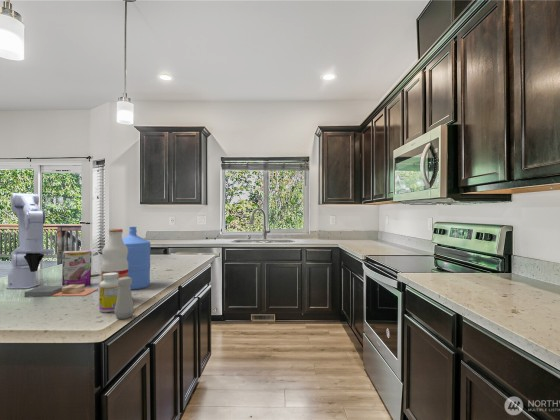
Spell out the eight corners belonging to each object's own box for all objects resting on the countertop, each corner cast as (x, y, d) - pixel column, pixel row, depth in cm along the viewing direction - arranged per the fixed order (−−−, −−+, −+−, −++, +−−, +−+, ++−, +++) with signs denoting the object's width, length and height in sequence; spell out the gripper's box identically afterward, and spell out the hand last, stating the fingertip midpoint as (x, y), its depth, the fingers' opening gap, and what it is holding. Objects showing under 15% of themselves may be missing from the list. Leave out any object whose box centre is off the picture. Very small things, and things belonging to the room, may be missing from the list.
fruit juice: (99, 299, 123) (101, 228, 124) (126, 295, 129) (127, 228, 129) (101, 304, 116) (102, 229, 116) (129, 301, 121) (130, 229, 121)
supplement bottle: (101, 308, 112) (102, 272, 112) (121, 306, 114) (122, 271, 114) (97, 313, 105) (97, 275, 105) (118, 312, 107) (119, 274, 108)
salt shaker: (112, 320, 99) (112, 279, 99) (116, 315, 104) (116, 276, 104) (132, 319, 100) (132, 278, 101) (135, 313, 106) (135, 275, 106)
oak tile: (61, 293, 129) (61, 287, 129) (70, 290, 135) (70, 284, 135) (76, 293, 130) (76, 287, 130) (84, 290, 136) (84, 284, 136)
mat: (51, 296, 127) (51, 295, 127) (67, 289, 138) (67, 289, 138) (84, 296, 128) (84, 295, 128) (98, 289, 139) (98, 288, 139)
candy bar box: (62, 289, 139) (63, 252, 139) (61, 287, 143) (62, 251, 143) (91, 285, 146) (91, 250, 146) (89, 283, 150) (90, 249, 150)
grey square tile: (24, 296, 126) (24, 291, 126) (42, 290, 137) (43, 285, 137) (50, 296, 127) (50, 291, 127) (66, 289, 138) (66, 285, 138)
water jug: (157, 284, 150) (158, 226, 150) (132, 292, 135) (133, 227, 135) (131, 282, 155) (132, 226, 155) (104, 289, 140) (105, 227, 140)
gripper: (8, 239, 126) (8, 273, 126) (46, 239, 128) (45, 272, 128) (21, 238, 133) (20, 270, 133) (57, 238, 135) (56, 269, 135)
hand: (33, 271), depth 131 cm, fingers closed
